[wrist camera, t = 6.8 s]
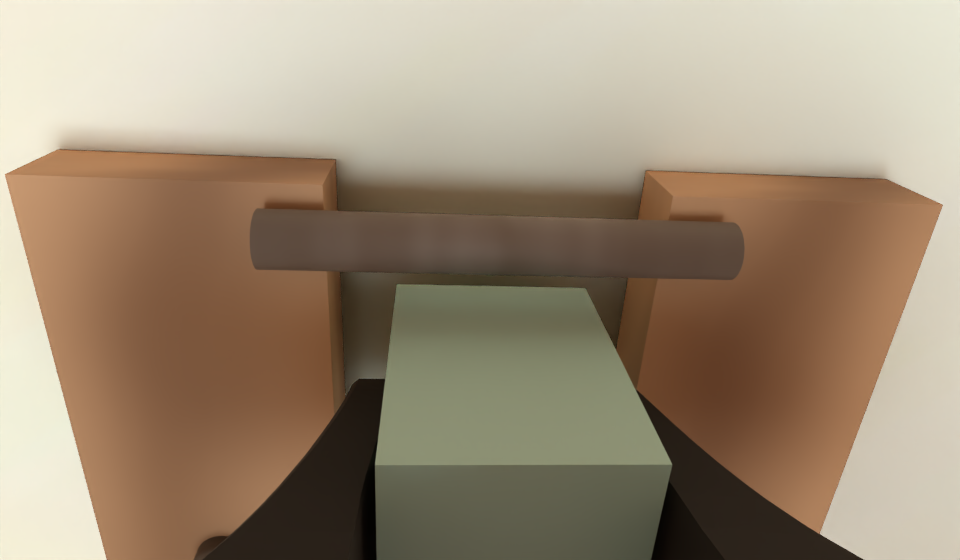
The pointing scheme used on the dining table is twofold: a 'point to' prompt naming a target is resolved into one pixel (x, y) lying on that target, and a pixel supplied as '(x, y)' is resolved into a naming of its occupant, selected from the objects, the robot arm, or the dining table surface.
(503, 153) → the dining table surface
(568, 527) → the green block
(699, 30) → the dining table surface
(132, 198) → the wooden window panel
